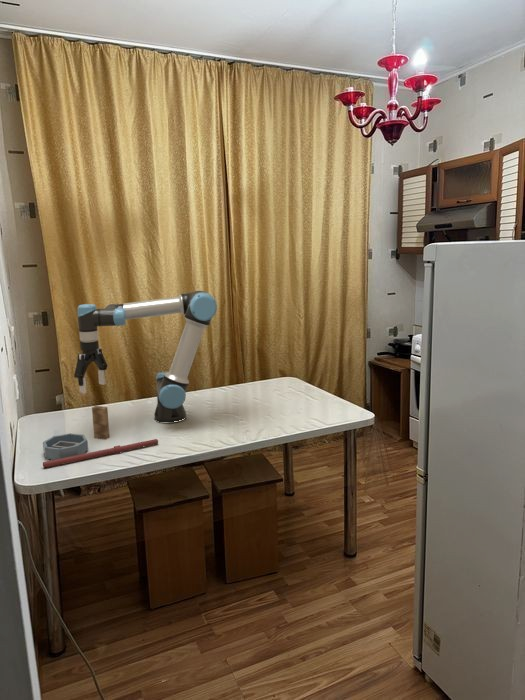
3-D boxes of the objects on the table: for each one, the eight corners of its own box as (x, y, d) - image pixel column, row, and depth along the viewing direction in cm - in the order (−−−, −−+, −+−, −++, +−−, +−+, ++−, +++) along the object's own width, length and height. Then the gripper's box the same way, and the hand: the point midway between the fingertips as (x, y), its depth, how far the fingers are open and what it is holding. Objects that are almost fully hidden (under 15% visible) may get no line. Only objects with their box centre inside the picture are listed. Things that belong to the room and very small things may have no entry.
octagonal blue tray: (94, 447, 213) (94, 435, 212) (71, 462, 198) (70, 450, 197) (61, 443, 217) (60, 432, 216) (35, 458, 202) (34, 446, 201)
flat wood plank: (109, 437, 224) (107, 406, 221) (106, 439, 221) (104, 408, 218) (97, 436, 225) (95, 405, 222) (94, 438, 223) (91, 407, 220)
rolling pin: (156, 443, 217) (156, 436, 216) (158, 446, 214) (158, 439, 214) (42, 467, 194) (42, 459, 194) (44, 470, 192) (43, 462, 191)
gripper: (99, 335, 231) (102, 380, 235) (62, 345, 207) (66, 395, 212) (113, 335, 228) (116, 381, 233) (77, 346, 205) (82, 397, 210)
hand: (92, 388), depth 222 cm, fingers open, 13 cm apart
